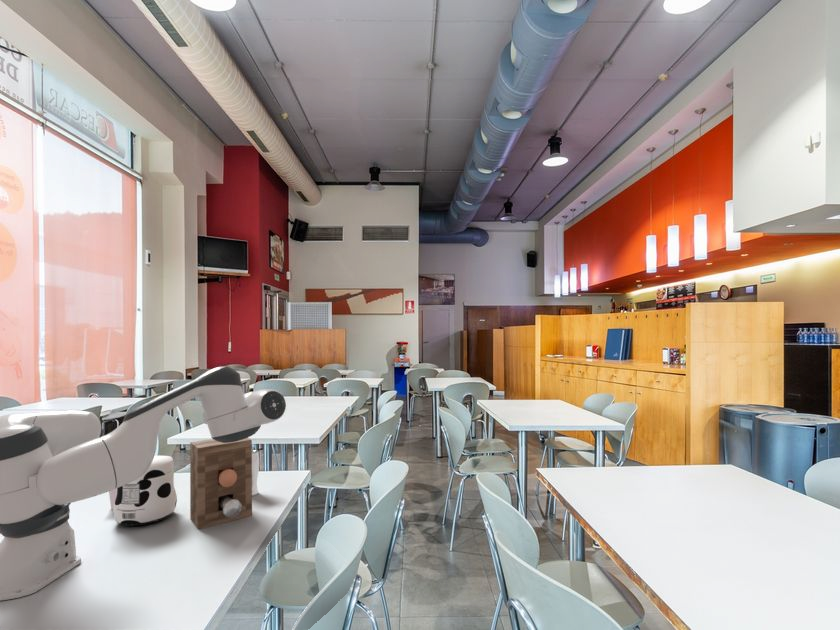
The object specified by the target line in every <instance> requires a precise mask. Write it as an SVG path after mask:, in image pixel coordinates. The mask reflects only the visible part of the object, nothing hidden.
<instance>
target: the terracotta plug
mask: <svg viewBox="0 0 840 630" xmlns="http://www.w3.org/2000/svg"><path fill="white" fill-rule="evenodd" d="M218 479H219V483H220V484H221V485H222V486H223V487H230V486H232V485H233V484H234V483H235V482H236V480H237V474H236V472H235V471H234V470H232V469H224V470H219V471H218Z"/></svg>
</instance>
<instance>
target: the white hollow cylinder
mask: <svg viewBox="0 0 840 630" xmlns="http://www.w3.org/2000/svg"><path fill="white" fill-rule="evenodd" d="M259 469H260V457H259V450H255V449H252V497H254V496H256V495H258V494H259V490H258V477H259V471H260V470H259Z"/></svg>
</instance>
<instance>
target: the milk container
mask: <svg viewBox="0 0 840 630" xmlns="http://www.w3.org/2000/svg"><path fill="white" fill-rule="evenodd" d="M174 468H175V463H174V458H173V456H169V455H154V458H153V461H152V463H151V465H150V467H149V468H148V470H147V471H146V472H145V473H144V474H143V475H142V476H141V477H139V478H137V479H136V480H134V481H132V482H130V483H128V484H125V485H123V486H121V487H119V488H117V496H116V500H115V503H114V508H113V509H112V510H113V516H114V517H113V518H114V520H115V522H116V523H117V524H120V525H122V526H126V527H127V526H128V527H129V526H130V527H131V526H132V527H133V526H143V525H149V524H151V523H152V524H153V523H156V522H159V521H161V520H164V519H166V518H167V517H169V516H171V515H172V514H173V513H174V511H175V510H176V508H177V502H178V496H177V492H176V488H175V484H174V483H175V481H174V480H175V479H174V476H175V475H174V474H175V473H174V470H175V469H174Z"/></svg>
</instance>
